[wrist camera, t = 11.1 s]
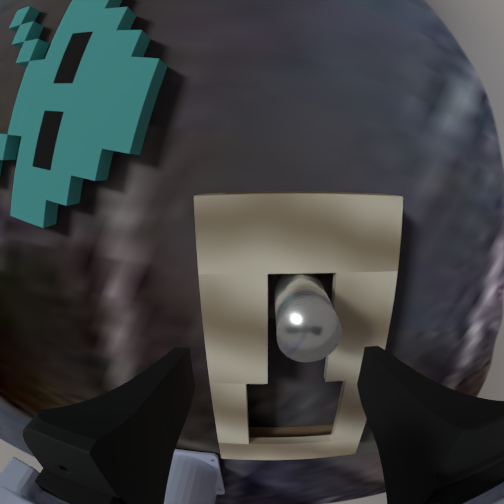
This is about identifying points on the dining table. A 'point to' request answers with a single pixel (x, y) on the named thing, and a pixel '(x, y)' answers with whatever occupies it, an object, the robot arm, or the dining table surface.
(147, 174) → the dining table surface
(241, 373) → the keyhole plate
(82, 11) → the alien figure
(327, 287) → the peg
